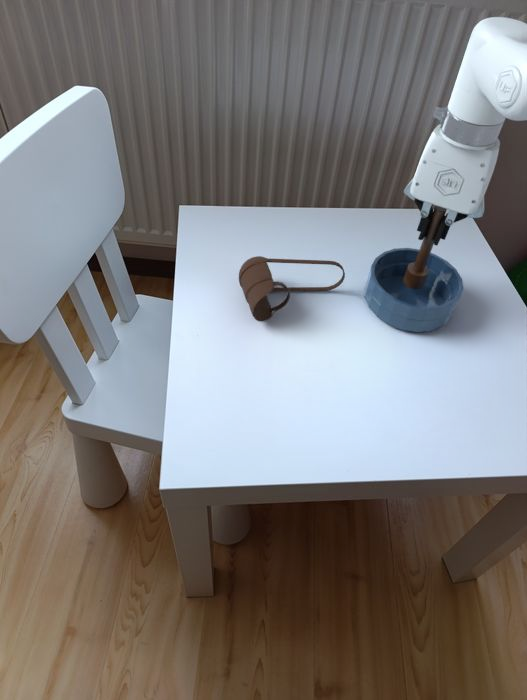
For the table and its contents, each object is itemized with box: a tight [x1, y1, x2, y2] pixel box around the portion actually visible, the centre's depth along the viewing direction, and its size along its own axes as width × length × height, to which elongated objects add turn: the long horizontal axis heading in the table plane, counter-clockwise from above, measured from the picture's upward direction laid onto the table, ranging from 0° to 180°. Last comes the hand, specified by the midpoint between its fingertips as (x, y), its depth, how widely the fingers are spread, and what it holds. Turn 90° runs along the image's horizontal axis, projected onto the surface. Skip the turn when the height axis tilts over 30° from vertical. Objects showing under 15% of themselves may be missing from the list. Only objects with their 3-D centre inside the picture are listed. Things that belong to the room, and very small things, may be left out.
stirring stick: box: [403, 205, 448, 289], centre depth 87 cm, size 4×4×15 cm
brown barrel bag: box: [238, 255, 346, 322], centre depth 90 cm, size 18×12×7 cm, turn 104°
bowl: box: [364, 247, 464, 333], centre depth 91 cm, size 15×15×6 cm
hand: (430, 237), depth 85 cm, fingers closed on stirring stick
